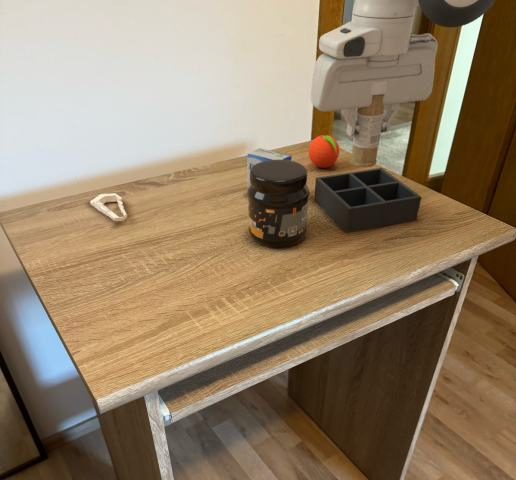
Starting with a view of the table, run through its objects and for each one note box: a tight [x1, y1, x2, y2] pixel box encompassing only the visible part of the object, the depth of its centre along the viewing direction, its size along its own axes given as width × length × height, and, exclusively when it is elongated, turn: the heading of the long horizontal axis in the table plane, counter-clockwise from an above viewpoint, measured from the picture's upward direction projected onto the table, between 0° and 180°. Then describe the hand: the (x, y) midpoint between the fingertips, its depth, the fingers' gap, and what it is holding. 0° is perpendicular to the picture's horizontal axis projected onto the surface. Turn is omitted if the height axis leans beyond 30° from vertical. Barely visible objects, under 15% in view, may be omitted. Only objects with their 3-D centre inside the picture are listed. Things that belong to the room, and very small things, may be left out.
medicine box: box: [246, 147, 292, 188], centre depth 98 cm, size 8×4×9 cm, turn 55°
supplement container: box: [246, 160, 310, 248], centre depth 84 cm, size 10×10×12 cm
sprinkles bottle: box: [350, 81, 387, 168], centre depth 81 cm, size 5×5×14 cm
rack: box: [313, 167, 422, 233], centre depth 94 cm, size 15×15×5 cm
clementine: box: [308, 134, 340, 169], centre depth 109 cm, size 8×7×7 cm
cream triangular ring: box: [89, 192, 128, 222], centre depth 96 cm, size 13×5×2 cm, turn 38°
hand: (367, 133), depth 82 cm, fingers closed on sprinkles bottle, 4 cm apart
